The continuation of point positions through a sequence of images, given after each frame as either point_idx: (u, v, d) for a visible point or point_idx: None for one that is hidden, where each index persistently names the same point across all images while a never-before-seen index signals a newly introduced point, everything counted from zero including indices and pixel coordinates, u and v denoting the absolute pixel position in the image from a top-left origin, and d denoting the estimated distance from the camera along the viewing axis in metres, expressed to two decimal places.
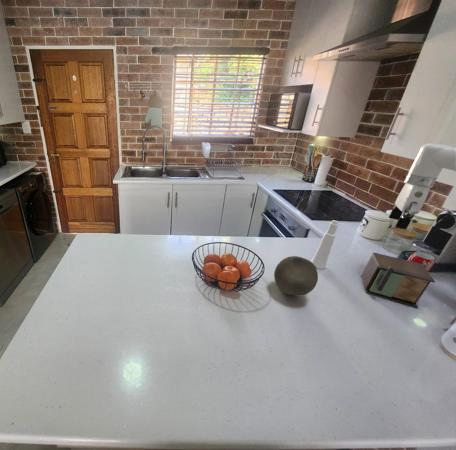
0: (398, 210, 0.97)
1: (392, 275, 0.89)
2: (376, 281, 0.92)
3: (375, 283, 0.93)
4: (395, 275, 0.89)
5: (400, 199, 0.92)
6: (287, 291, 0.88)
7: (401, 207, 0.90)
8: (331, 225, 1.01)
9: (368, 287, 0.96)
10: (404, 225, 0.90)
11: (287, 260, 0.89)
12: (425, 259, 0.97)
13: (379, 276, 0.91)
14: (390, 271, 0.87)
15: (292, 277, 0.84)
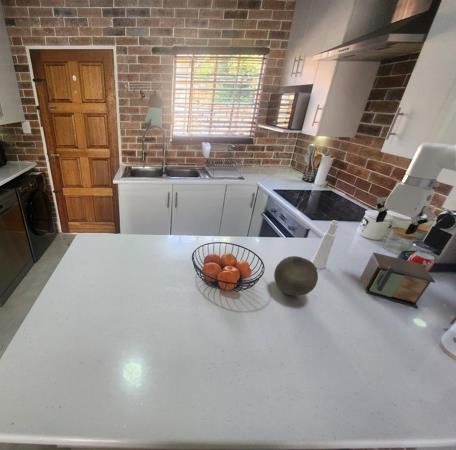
0: (384, 212, 0.92)
1: (392, 275, 0.89)
2: (376, 281, 0.92)
3: (375, 283, 0.93)
4: (395, 275, 0.89)
5: (401, 204, 0.85)
6: (287, 291, 0.88)
7: (410, 213, 0.83)
8: (331, 225, 1.01)
9: (368, 287, 0.96)
10: (415, 230, 0.84)
11: (287, 260, 0.89)
12: (425, 259, 0.97)
13: (379, 276, 0.91)
14: (390, 271, 0.87)
15: (292, 277, 0.84)
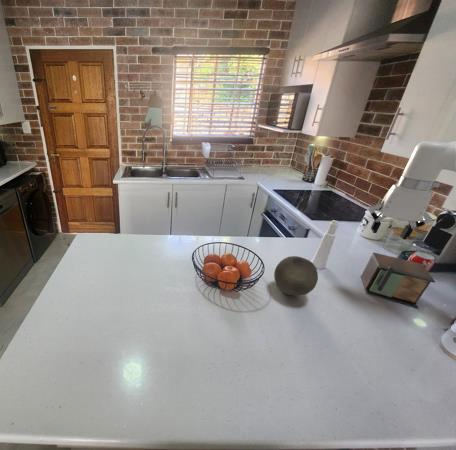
0: (379, 221, 0.83)
1: (392, 275, 0.89)
2: (376, 281, 0.92)
3: (375, 283, 0.93)
4: (395, 275, 0.89)
5: (404, 209, 0.77)
6: (287, 291, 0.88)
7: (415, 217, 0.77)
8: (331, 225, 1.01)
9: (368, 287, 0.96)
10: None
11: (287, 260, 0.89)
12: (425, 259, 0.97)
13: (379, 276, 0.91)
14: (390, 271, 0.87)
15: (292, 277, 0.84)
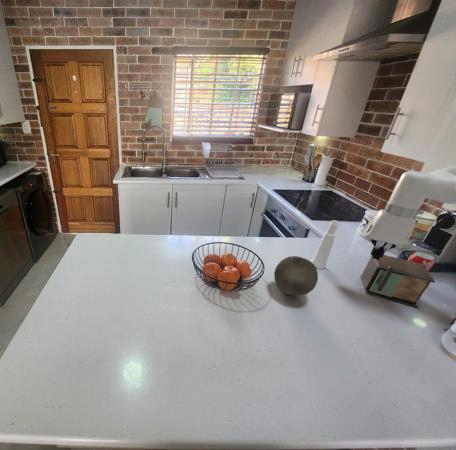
0: None
1: (392, 275, 0.89)
2: (376, 281, 0.92)
3: (375, 283, 0.93)
4: (395, 275, 0.89)
5: (390, 234, 0.81)
6: (287, 291, 0.88)
7: (400, 242, 0.81)
8: (331, 225, 1.01)
9: (368, 287, 0.96)
10: None
11: (287, 260, 0.89)
12: (425, 259, 0.97)
13: (379, 276, 0.91)
14: (390, 271, 0.87)
15: (292, 277, 0.84)
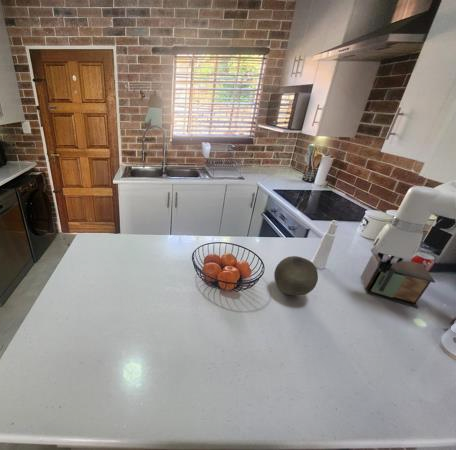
0: None
1: (394, 275, 0.89)
2: (378, 281, 0.92)
3: (377, 283, 0.93)
4: (397, 275, 0.88)
5: (397, 248, 0.82)
6: (287, 291, 0.88)
7: (407, 256, 0.81)
8: (331, 225, 1.01)
9: (368, 287, 0.96)
10: None
11: (287, 260, 0.89)
12: (425, 259, 0.97)
13: (381, 276, 0.91)
14: (392, 271, 0.86)
15: (292, 277, 0.84)
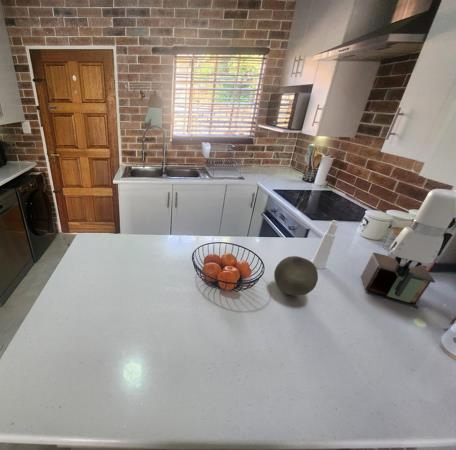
0: None
1: (411, 280, 0.87)
2: (394, 286, 0.90)
3: (393, 288, 0.91)
4: (414, 280, 0.86)
5: (416, 252, 0.80)
6: (287, 291, 0.88)
7: (427, 260, 0.79)
8: (331, 225, 1.01)
9: (368, 287, 0.96)
10: None
11: (287, 260, 0.89)
12: None
13: (397, 281, 0.89)
14: (410, 276, 0.84)
15: (292, 277, 0.84)
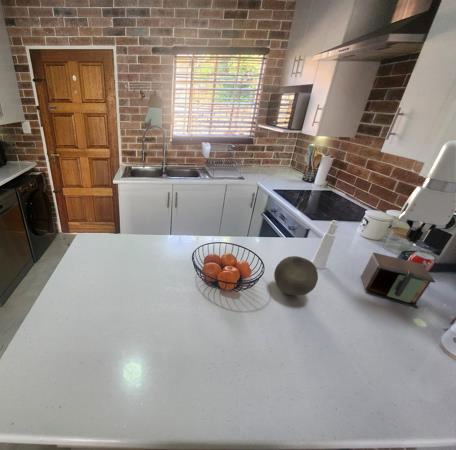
0: None
1: (411, 280, 0.87)
2: (394, 286, 0.90)
3: (393, 288, 0.91)
4: (414, 280, 0.86)
5: (430, 213, 0.73)
6: (287, 291, 0.88)
7: (442, 221, 0.73)
8: (331, 225, 1.01)
9: (368, 287, 0.96)
10: None
11: (287, 260, 0.89)
12: (425, 259, 0.97)
13: (397, 281, 0.89)
14: (410, 276, 0.84)
15: (292, 277, 0.84)
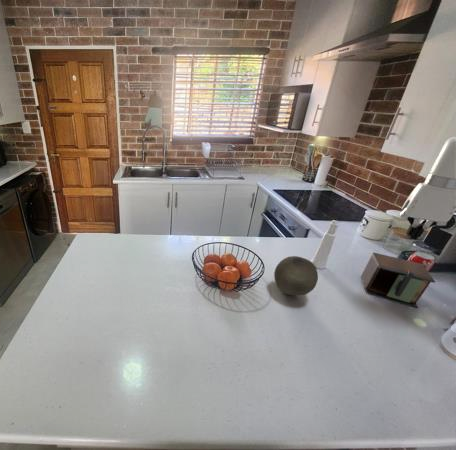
0: None
1: (411, 280, 0.87)
2: (394, 286, 0.90)
3: (393, 288, 0.91)
4: (414, 280, 0.86)
5: (432, 209, 0.72)
6: (287, 291, 0.88)
7: (443, 218, 0.72)
8: (331, 225, 1.01)
9: (368, 287, 0.96)
10: None
11: (287, 260, 0.89)
12: (425, 259, 0.97)
13: (397, 281, 0.89)
14: (410, 276, 0.84)
15: (292, 277, 0.84)
